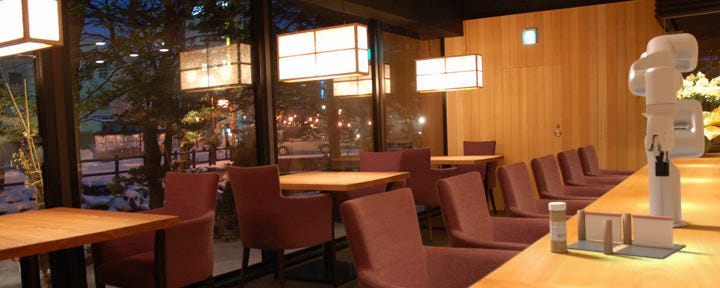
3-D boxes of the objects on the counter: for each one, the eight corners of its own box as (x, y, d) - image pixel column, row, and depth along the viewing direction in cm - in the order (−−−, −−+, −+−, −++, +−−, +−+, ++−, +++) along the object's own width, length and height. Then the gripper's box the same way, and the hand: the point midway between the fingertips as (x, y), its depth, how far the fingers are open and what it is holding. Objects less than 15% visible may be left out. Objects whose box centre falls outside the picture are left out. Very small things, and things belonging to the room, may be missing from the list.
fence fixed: (579, 239, 182) (579, 209, 182) (633, 245, 172) (632, 213, 171) (555, 248, 170) (554, 216, 170) (611, 255, 160) (610, 221, 160)
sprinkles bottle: (566, 249, 168) (565, 201, 168) (568, 253, 164) (566, 203, 164) (549, 249, 169) (547, 201, 169) (550, 253, 165) (549, 203, 165)
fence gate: (632, 243, 170) (632, 215, 170) (634, 242, 171) (634, 214, 171) (672, 247, 163) (671, 217, 163) (674, 246, 164) (673, 216, 164)
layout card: (592, 237, 186) (592, 235, 186) (685, 246, 168) (685, 244, 168) (563, 248, 171) (563, 246, 171) (661, 259, 153) (661, 257, 153)
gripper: (655, 112, 178) (657, 174, 179) (637, 111, 168) (639, 177, 168) (683, 110, 173) (684, 174, 173) (666, 110, 162) (668, 178, 163)
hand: (662, 176), depth 171 cm, fingers closed
